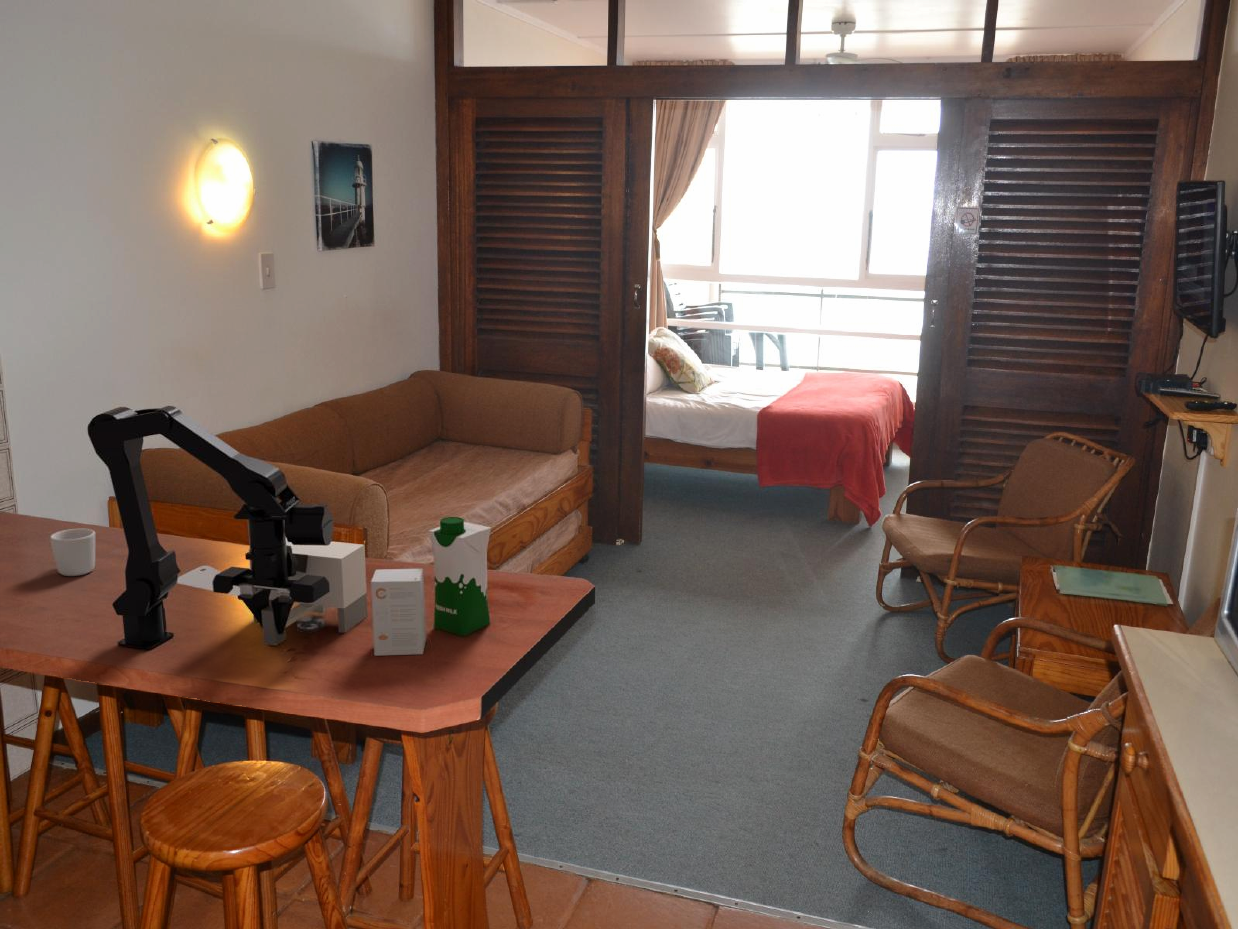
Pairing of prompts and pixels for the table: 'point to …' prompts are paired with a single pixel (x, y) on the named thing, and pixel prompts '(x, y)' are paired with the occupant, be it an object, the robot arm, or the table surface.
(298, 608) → the grey mallet
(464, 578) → the milk carton
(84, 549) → the cup
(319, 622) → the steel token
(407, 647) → the small box
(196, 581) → the kitchen cleaver
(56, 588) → the table surface
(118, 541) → the table surface
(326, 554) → the cabinet
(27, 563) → the table surface
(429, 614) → the table surface
